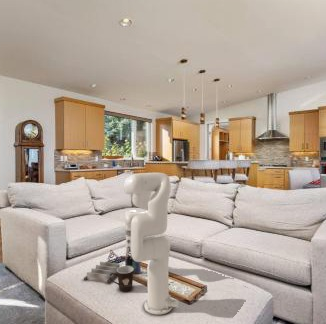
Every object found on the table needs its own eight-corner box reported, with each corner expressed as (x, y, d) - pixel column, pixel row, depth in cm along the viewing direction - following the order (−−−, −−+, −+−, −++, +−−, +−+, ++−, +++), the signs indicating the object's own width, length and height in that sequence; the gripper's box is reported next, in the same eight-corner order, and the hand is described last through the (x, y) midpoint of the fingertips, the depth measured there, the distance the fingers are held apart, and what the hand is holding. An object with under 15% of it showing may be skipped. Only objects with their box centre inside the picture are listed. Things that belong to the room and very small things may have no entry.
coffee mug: (136, 285, 133) (136, 266, 133) (130, 294, 125) (130, 274, 125) (115, 283, 136) (115, 264, 136) (108, 291, 128) (108, 271, 128)
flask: (141, 272, 149) (140, 254, 148) (139, 274, 146) (139, 256, 146) (126, 270, 151) (125, 253, 151) (124, 273, 148) (124, 254, 148)
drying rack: (122, 270, 152) (122, 263, 152) (108, 283, 136) (108, 276, 136) (99, 267, 157) (99, 260, 157) (84, 280, 141) (83, 272, 141)
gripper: (132, 237, 138) (132, 269, 139) (143, 228, 155) (143, 257, 155) (119, 236, 141) (120, 267, 141) (131, 227, 157) (132, 255, 158)
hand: (132, 262), depth 148 cm, fingers open, 7 cm apart
